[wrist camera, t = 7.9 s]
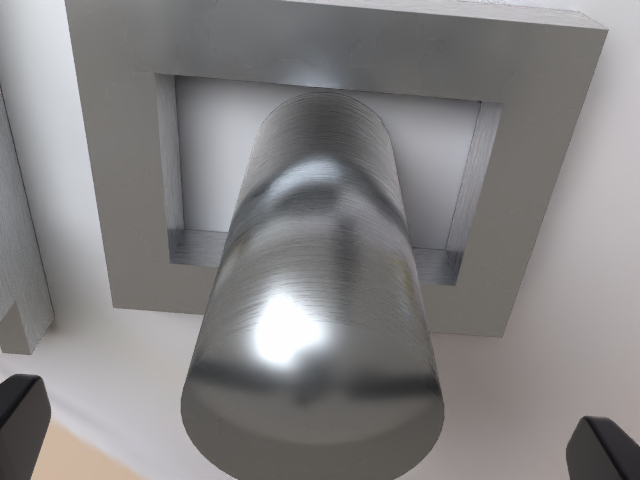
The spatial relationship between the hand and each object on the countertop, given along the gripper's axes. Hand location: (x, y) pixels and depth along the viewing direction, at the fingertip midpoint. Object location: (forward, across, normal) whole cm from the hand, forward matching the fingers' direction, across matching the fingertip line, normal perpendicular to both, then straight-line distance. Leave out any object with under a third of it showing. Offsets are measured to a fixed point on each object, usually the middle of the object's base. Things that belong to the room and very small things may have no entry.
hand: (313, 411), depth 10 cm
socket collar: (+10, 0, 0) cm, 10 cm away
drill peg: (+10, 0, 0) cm, 10 cm away
